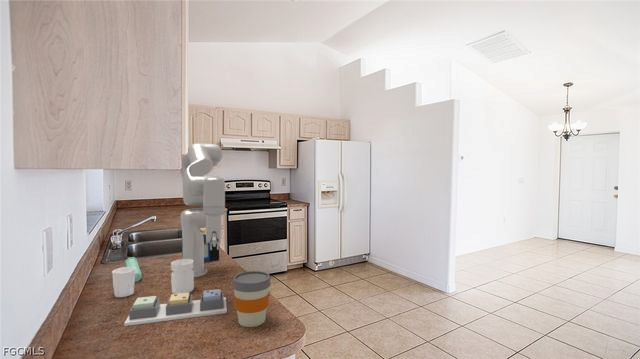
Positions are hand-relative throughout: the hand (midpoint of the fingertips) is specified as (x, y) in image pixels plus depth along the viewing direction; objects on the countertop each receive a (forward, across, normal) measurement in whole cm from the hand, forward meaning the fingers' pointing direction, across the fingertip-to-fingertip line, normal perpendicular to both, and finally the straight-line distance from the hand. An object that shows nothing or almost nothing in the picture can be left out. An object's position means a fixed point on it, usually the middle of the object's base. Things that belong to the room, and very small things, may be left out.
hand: (214, 257), depth 117 cm
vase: (+19, -21, -13) cm, 31 cm away
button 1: (+16, 0, -23) cm, 28 cm away
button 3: (+16, 0, -1) cm, 16 cm away
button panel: (+19, 0, -12) cm, 22 cm away
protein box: (+19, -64, -8) cm, 67 cm away
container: (+19, -48, -37) cm, 64 cm away
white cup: (+19, -23, -35) cm, 46 cm away
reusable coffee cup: (+19, +14, +12) cm, 27 cm away
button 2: (+16, 0, -12) cm, 20 cm away
